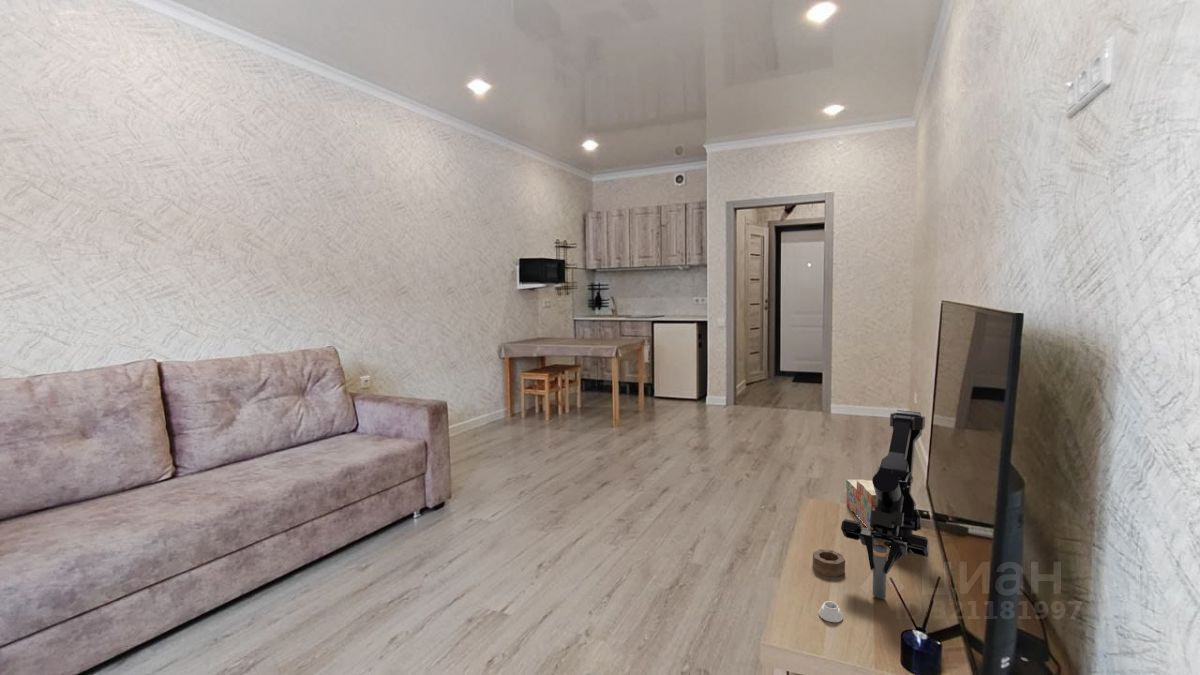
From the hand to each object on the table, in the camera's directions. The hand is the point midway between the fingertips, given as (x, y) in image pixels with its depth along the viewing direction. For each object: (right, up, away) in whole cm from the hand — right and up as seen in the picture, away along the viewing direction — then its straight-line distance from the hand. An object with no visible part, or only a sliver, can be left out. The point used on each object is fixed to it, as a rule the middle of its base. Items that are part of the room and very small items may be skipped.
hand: (878, 571), depth 128 cm
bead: (-5, -6, +15) cm, 17 cm away
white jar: (-14, -8, -5) cm, 17 cm away
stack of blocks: (+20, -3, +46) cm, 50 cm away
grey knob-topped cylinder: (+1, -6, +2) cm, 7 cm away
